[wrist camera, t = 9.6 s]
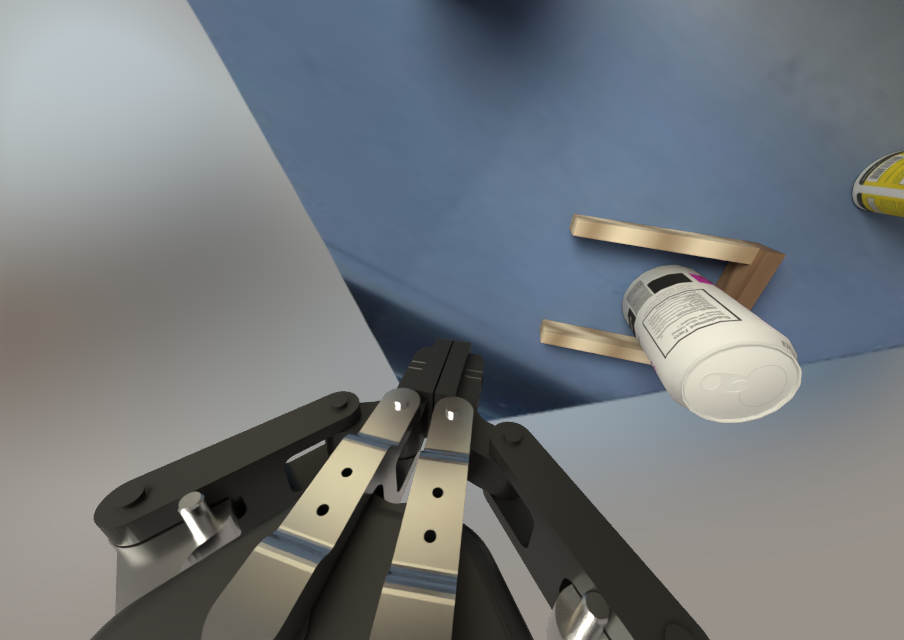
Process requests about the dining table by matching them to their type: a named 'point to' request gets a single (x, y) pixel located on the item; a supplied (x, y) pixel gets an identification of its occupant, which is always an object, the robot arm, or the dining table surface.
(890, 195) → the supplement bottle
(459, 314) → the dining table surface
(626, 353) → the bay
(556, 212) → the dining table surface
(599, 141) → the dining table surface
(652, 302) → the supplement can
